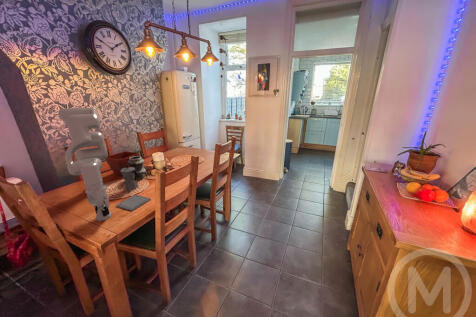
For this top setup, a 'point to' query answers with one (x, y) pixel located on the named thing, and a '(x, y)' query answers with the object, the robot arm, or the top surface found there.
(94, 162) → the robot arm
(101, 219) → the flask
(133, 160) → the apothecary jar
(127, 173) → the coffeepot
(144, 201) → the slate coaster
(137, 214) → the top surface
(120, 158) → the plant pot
